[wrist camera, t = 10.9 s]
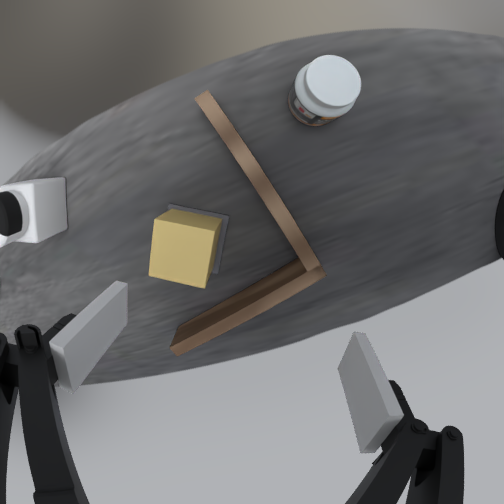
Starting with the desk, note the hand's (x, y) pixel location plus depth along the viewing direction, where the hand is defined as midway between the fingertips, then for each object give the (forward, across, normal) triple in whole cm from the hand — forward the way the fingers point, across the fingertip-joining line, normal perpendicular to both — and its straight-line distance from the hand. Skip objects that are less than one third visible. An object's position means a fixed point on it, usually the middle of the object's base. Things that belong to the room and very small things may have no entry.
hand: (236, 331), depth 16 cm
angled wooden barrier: (+19, -7, 0) cm, 20 cm away
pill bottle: (+20, +3, +17) cm, 26 cm away
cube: (+19, -7, -1) cm, 20 cm away
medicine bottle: (+18, -29, 0) cm, 34 cm away
